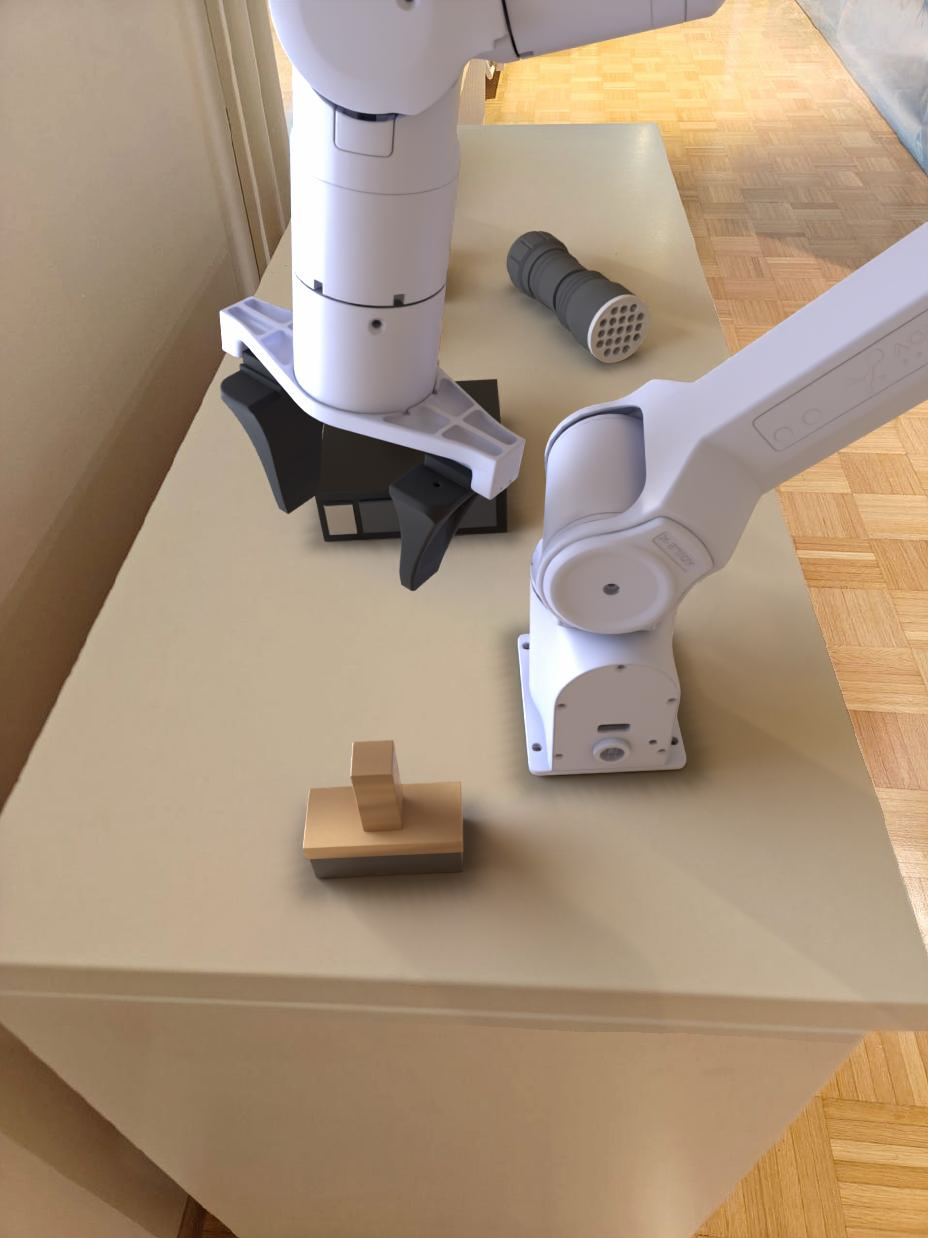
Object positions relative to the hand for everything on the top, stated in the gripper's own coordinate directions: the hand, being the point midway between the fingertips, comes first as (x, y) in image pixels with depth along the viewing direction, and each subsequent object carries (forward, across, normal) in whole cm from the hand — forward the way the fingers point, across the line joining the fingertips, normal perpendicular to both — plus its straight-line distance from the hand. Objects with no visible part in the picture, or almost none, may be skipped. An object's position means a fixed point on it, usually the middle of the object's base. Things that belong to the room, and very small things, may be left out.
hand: (357, 538), depth 44 cm
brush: (+10, -8, +7) cm, 15 cm away
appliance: (+11, +8, -16) cm, 21 cm away
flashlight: (+9, +10, -40) cm, 43 cm away
